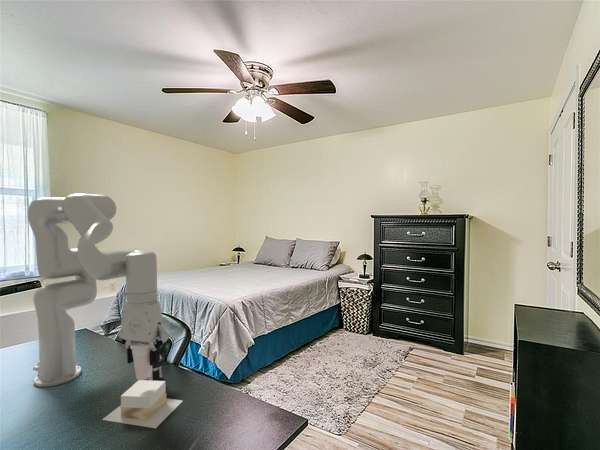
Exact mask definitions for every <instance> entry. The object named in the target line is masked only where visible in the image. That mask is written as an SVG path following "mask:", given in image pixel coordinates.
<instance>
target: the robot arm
mask: <svg viewBox="0 0 600 450" xmlns="http://www.w3.org/2000/svg"><path fill="white" fill-rule="evenodd" d="M116 213H117V205H116V203H115V201H114V200H113V198H111V197H110V196H108V195H105V194H95V193H92V194H91V193H72V194H70V195H67V196H65V197H60V196H59V197H57V196H53V197H51V196H49V197H48V196H47V197H38V198H36V199H33V200H32V201H31V203H30V204H29V206H28V209H27V220H28V224H29V226H30V228H31V229H30V230H31V231H32V234H33V236H34V240H35V241H34V242H35V254H36V267H37V273H38V276H39V277H40V278H42V279H43V280H56V279H57V280H58V279H63V278H70V277H71V278H72V277H75V278H74V279H72V280H66V281H65V280H64V281H60V282H54V283H49V284H48V283H47V284H46V285H43V286H41V287H39V288H37V290H35V292H34V294H33V304H34V309H35V312H36V318H37V326H38V327H37V328H38V329H37V331H38V332H37V333H38V357H39V358H38V359H39V362H38V363H37V364H36V365H35V366H33V369H32V370H33V371H35V372H36V371H37V375H36V376H35V377H34V379H33V385H34V386H36V387H39V388H42V387H43V388H47V387H54V386H59V385H62V384H65V383H68V382H70V381H72V380H74V379H76V378H77V377H79V376H80V374H81V373H82V367H81V366H80V365H77V362H76V360H77V359H76V330H75V329H76V328H75V327H76V326H75V325H76V323H75V321H74V319H73V318H72V317H71V315H69V314H68V313H67V311H68V310H71V309H75V308H79V307H80V308H81V307H84V306H87V305H89V304H92V303H93V302H94V301H95V300H96V297H97V294H98V293H97V292H98V287H97V281H108V280H114V279H118V278H125V287H126V289H125V290H126V291H125V293H124V295H123V296H124V298H126V302H124V303H123V306H122V307H123V308H122V311H121V318H120V319H121V321H120V329H119V330H118V332H117V333H116V335H117V336H118V338H120V340H121V342H122V343H123V344H124V348H125V349H126V350H127V351H126V356H127V359H126V360H127V364H131V363H134V360H133V354H132V349H131V348H130V343H131V342H132V341H138V342H149V344H150V347H151V349H152V350H151V351H150V365H151V366H153V365H155V364H156V363H157V362H159V361H160V355H161V349H160V348H162V346H163V345H164V344H165V343H166V342H167V341H168V340H169V338H170V334H169V333H168V332H167V331H166V329H165V328H164V323H163V314H162V313H163V312H162V308H161V303H160V300H158V269H157V267H158V266H157V264H158V263H157V261H158V260H157V259H158V258H157V255H156V253H155V252H153V251H146V250H145V251H142V250H139V249H135V248H134V249H132V248H130V249H119V250H109V251H103V252H101V251H100V249H98V247H97V246H96V245H97V244H99V243H101V242H103V241H104V240H106V239H108V238H109V236H110V235H111V234H112V232H113V230H114V225H113V223H112V221H111V220H112V219H113V218H114V217H115V216H116ZM58 224H72V226H73V227H74V228H75V230H77V232H78V234H79V235H80V238H79V240H78V243H77V248H70V246H69V239H68V238H69V237H68V234H67V233H66V231H65V230H64V229H63V228H62V227H61V226H60V225H58ZM154 340H155V342H156V344H155V342H154Z"/></svg>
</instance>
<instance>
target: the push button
mask: <svg viewBox="0 0 600 450" xmlns="http://www.w3.org/2000/svg"><path fill="white" fill-rule="evenodd" d="M164 361H165V356H162V355H161V354H160V361H159V362H157V363H156V364H155V365H153V366H152V374H151V377H149V378H148V380H150V381H165V382H166V379H165V378H164V377H163V375H162V366H163V365H164V363H165V362H164Z"/></svg>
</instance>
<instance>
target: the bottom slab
mask: <svg viewBox="0 0 600 450" xmlns="http://www.w3.org/2000/svg"><path fill="white" fill-rule="evenodd" d="M166 398H167V392H166V391H165V393H164V394H163V395H162V396H161V397H160V398H159V399H158V400H157V402H156V403H155V404H154V405H153V406H152V407H151V408H128V407H121V417H125V418H132V419H138V420H144V421H148V420H149V419H150V418H151V417H152V416H153V415H154V414H155V413H156V412H157V411H158V410H159V409H161V408H162V407H163V406H164V405H165V404H166Z"/></svg>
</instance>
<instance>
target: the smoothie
mask: <svg viewBox="0 0 600 450" xmlns="http://www.w3.org/2000/svg"><path fill="white" fill-rule="evenodd" d="M154 342H155V340H154ZM155 344H156V342H155ZM130 348H131V349H132V354H133V360H134V361H133V365H134V367H133V368H134V371H135V378H136V380H137V381H138V380H147V379H149V377H151V374H152V366H151V365H150V351H151V350H152V349H151V347H150V344H149V342H138V341H132V342H131V343H130Z"/></svg>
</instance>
